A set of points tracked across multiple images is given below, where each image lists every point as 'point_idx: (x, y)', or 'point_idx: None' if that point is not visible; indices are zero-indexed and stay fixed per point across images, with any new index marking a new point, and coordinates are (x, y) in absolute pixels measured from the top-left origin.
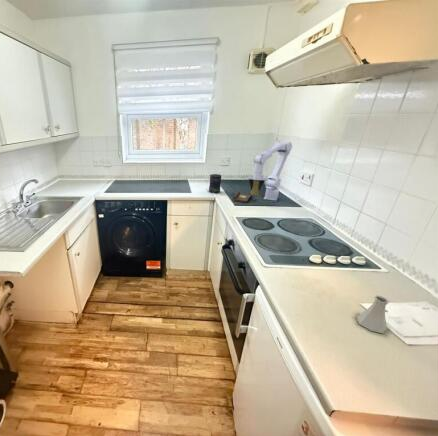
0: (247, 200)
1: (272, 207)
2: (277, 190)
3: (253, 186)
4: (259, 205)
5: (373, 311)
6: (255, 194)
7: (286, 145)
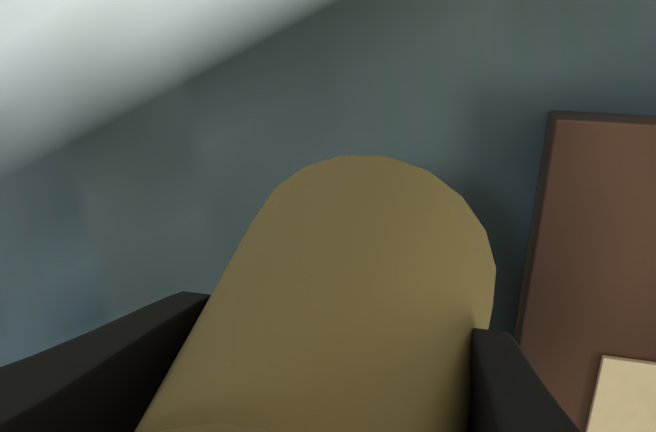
0: (535, 226)
1: (29, 28)
2: None
3: (405, 394)
4: (257, 47)
5: None
6: (324, 168)
7: None
